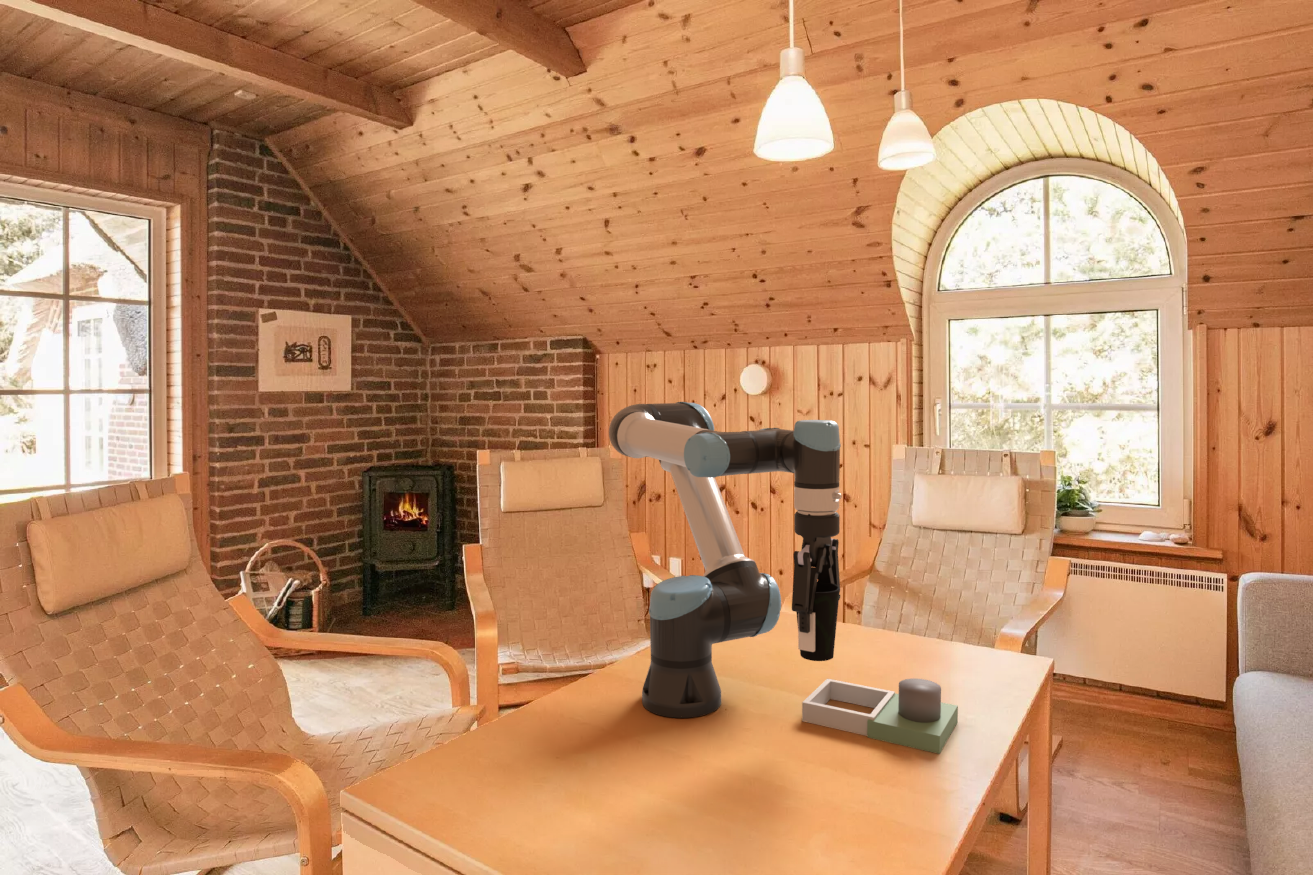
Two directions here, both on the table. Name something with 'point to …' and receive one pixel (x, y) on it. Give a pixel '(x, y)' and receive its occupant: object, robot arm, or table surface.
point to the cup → (824, 622)
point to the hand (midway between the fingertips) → (816, 642)
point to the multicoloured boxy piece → (886, 712)
